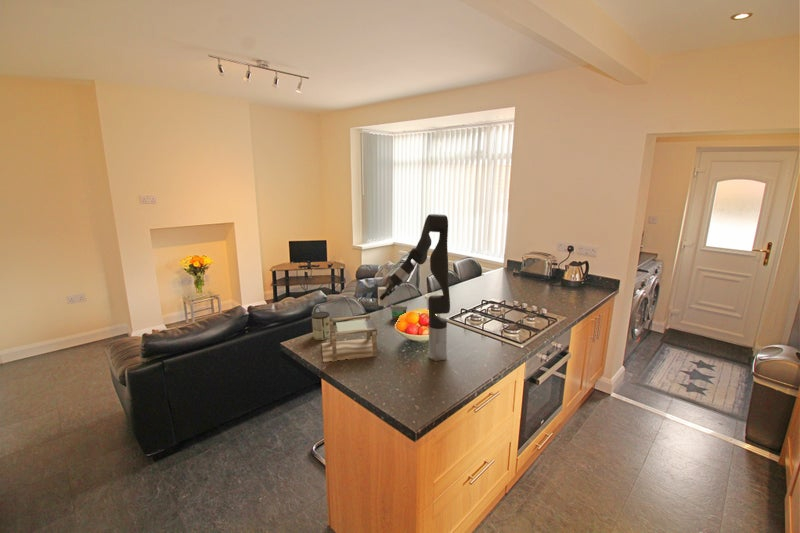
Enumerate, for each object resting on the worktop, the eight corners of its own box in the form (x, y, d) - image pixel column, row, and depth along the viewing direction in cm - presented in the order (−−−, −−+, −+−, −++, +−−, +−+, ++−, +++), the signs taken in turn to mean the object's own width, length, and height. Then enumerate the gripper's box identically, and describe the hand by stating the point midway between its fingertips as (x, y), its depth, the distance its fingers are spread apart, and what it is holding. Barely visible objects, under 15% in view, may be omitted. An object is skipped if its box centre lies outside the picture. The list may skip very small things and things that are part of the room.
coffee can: (316, 332, 224) (314, 311, 221) (332, 333, 223) (331, 311, 220) (310, 339, 214) (309, 317, 211) (327, 340, 213) (326, 317, 210)
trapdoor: (377, 335, 192) (377, 328, 192) (338, 341, 188) (338, 333, 187) (372, 323, 210) (371, 317, 209) (336, 328, 205) (335, 321, 204)
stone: (388, 305, 213) (387, 288, 211) (379, 306, 212) (379, 289, 210) (386, 302, 218) (386, 286, 216) (378, 303, 216) (377, 287, 214)
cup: (443, 319, 243) (444, 297, 240) (425, 319, 243) (425, 298, 240) (442, 313, 255) (442, 292, 252) (424, 313, 255) (424, 292, 252)
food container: (386, 320, 243) (386, 306, 241) (391, 317, 249) (391, 303, 247) (403, 323, 238) (403, 308, 236) (407, 320, 243) (407, 306, 241)
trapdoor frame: (377, 355, 192) (376, 329, 189) (323, 362, 186) (321, 335, 182) (370, 338, 214) (369, 314, 211) (321, 344, 207) (320, 319, 204)
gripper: (392, 270, 219) (373, 290, 219) (397, 275, 206) (377, 297, 205) (400, 277, 222) (382, 298, 221) (406, 283, 208) (386, 305, 208)
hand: (379, 297), depth 213 cm, fingers closed on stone, 5 cm apart
